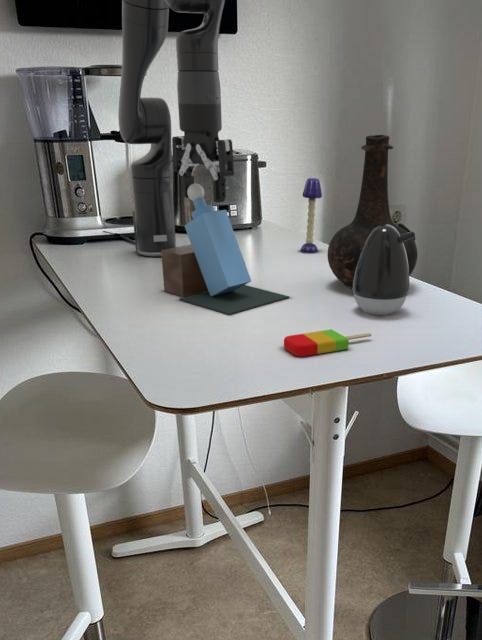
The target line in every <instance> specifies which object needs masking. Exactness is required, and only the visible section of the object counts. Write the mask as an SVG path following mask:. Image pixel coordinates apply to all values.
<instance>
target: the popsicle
mask: <svg viewBox="0 0 482 640" xmlns="http://www.w3.org/2000/svg"><path fill="white" fill-rule="evenodd" d="M369 337H372V333H370V332H365V333H360V334H353V335H347V336H345V335H342V334H340V333H339V332H337V331H336V330H334V329H332V328H331V329H325V330H318V331H311V332H305V333H298V334H291V335H287V336H285V337H284V339H283V348H284V350H286V351H288V352H289V353H291V354H292V355H293V356H295V357H308V356H314V355H319V354H326V353H333V352H338V351H344V350H347V349H348V348H349V344H350V343H349V341H351V340H356V339H362V338H369Z"/></svg>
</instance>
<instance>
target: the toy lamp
mask: <svg viewBox="0 0 482 640" xmlns="http://www.w3.org/2000/svg"><path fill="white" fill-rule="evenodd" d="M322 192H323V191H322V186H321V180H320V178H315V177H309V178H307V179H306V181H305V184H304V188H303V192H302V198H306V199H308V201H307V202H308V205H307V209H308V211H307V220H306V222H307V225H306V239H305V241H306V243H304V244H303V245H302V246H301V247H300V251H301V252H302V253H306V254H315V253H318V252H319V250H318V246H317V245H316V244H315V243H313V242H314V238H313V237H314V235H315V234H314V233H315V232H314V230H315V216H316V212H315V210H316V202H317V201H316V199H322V198H323V193H322Z"/></svg>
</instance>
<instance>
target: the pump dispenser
mask: <svg viewBox="0 0 482 640" xmlns="http://www.w3.org/2000/svg"><path fill="white" fill-rule="evenodd" d="M416 235H417V234H416V232H415V231H414V230H413V231H411V232H408V233H404V234H401V235H400V234H399V232H398V231H397V229H396V228H394V227H393V226H391V225H387V224H384V225H380V226H377V227H376V228H374V229H373V230H372V232H371V233H370V235H369V236H368V238H367V240H366V242H365V244H364V246H363V248H362V251H361V253H360V256H359V259H358V262H357V266H356V270H355V275H354V280H353V288H352V292H353V294H354V299H355V303H356V304H357V306H358V307H359V308H360V309H361V310H362V311H363V312H365V313H366V314H369V315H373V316H388V315H392V314H394V313H395V312H397V311H399V310H400V309H401V308H402V307H403V306H404V303H405V302H406V299H407V296H408V295H409V293H410V287H411V286H410V285H411V284H410V276H409V266H408V259H407V254H406V250H405V247H404V244H403V242H405V241H407V240H410V239H411V238H414V237H415V238H416Z"/></svg>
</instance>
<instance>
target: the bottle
mask: <svg viewBox="0 0 482 640" xmlns="http://www.w3.org/2000/svg"><path fill="white" fill-rule="evenodd" d="M187 194H188V197H189V198H188V199H189V200H190V201H191V202H192V203H193V206H194V208H195V209H194V210H193V211H192V212H191V213H190V214H191V217H192V220H190V221H189V222H187V223H185V224H184V229H185V231H186V234H187V237H188V239H189V242H190V245H192V248H193V250H194V253H195V256H196V259H197V261H198V264H199V267H200V269H201V272H202V275H203V277H204V280H205V283H206V286H207V288H208V291H209V294H210V296H211V297H212V296H216V295H220V294H224V293H228V292H232V291H234V290H236V289H238V288H240V287H242V286H244V285H247V284H249V283H252V279H251V276H250V274H249V270H248V268H247V265H246V263H245V259H244V257H243V254H242V251H241V248H240V246H239V243H238V240H237V237H236V234H235V232H234V228H233V226H232V223H231V220H230V217H229V215H228V211H227V209H221V210H215V207H214V205H212V204H209V205H207V203H206V199H205V198H204V197H205V189H204V187H203V186H202V185H201V184H199V183H195V182H194V184H192V185H190V186H189V188H188V191H187ZM208 291H207V292H208Z"/></svg>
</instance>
